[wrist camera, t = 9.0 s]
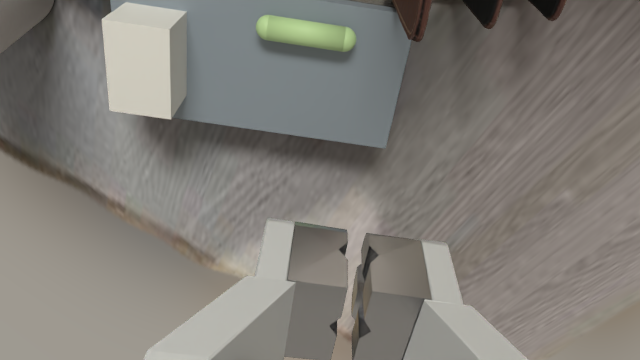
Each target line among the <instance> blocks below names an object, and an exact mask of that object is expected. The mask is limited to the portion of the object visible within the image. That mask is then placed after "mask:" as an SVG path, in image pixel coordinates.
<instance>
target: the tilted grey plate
mask: <svg viewBox="0 0 640 360" xmlns="http://www.w3.org/2000/svg"><path fill="white" fill-rule="evenodd" d="M110 1H111V13H110V14H108V15H107V16H106V17H104V18H103V19H102V28H103V39H104V51H105V62H106V74H107V85H108V97H109V108H110V111H115V112H122V113H129V114H136V115H143V116H150V117H157V118H163V119H170V120H171V119H172V118H177V119H184V120H191V121H198V122H205V123H212V124H219V125H226V126H233V127H240V128H246V129H253V130H260V131H267V132H274V133H281V134H288V135H295V136H302V137H309V138H316V139H323V140H330V141H336V142H343V143H350V144H357V145H364V146H371V147H378V148H385V149H386V144H387V140H388V136H389V132H390V128H391V124H392V120H393V115H394V111H395V107H396V103H397V99H398V95H399V90H400V86H401V82H402V78H403V74H404V70H405V66H406V61H407V57H408V53H409V49H410V45H411V41H412V40H409V39H408V38H407V35H406V33H405V31H404V28H403V26H402V24H401V22H400V19H399V17H398V14H397V11H396V8H393V7H387V6H380V5H374V4H367V3H361V2H355V1H348V0H110Z"/></svg>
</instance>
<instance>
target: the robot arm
mask: <svg viewBox="0 0 640 360" xmlns="http://www.w3.org/2000/svg"><path fill="white" fill-rule="evenodd" d="M293 231H294V232H293ZM347 243H348V233H347V230H345V229H338V228H332V227H326V226H320V225H314V224H307V223H301V222H295V226H294V222H293V221H287V220H280V219H274V218H268V219H267V221H266V225H265V229H264V234H263V239H262V243H261V248H260V253H259V257H258V262H257V267H256V271H255V276H245V277H244V278H243V279H241V280H240V281H239V282H237V283H236V284H235V285H233V286H232V287H231V288H229V289H228V290H227V291H225V292H224V293H223V294H222V295H220V296H219V297H217V299H215V300H214V301H212V302H211V303H209V304H208V305H207V306H206V307H204V308H203V309H202V310H200V311H199V312H198V313H197V314H195V315H194V316H192V317H191V318H190V319H188V320H187V321H186V322H184V323H183V324H182V325H180V326H179V327H178V328H176V329H175V330H174V331H172V332H171V333H170V334H169V335H167V336H166V337H164V338H163V339H162V340H161V341H159V342H158V343H157V344H155V345H154V346H153V347H151V348H150V349H149V350H147V353H146V355H145V358H144V360H283V359H284V357H293V358H303V359H313V360H331V357H332V353H333V349H334V345H335V340H336V336H337V320H338V319H339V318H341V315H342V311H343V306H344V302H345V297H346V293H347V288H348V260H347V259H346V257H345V253H346V248H347ZM361 254H362V264H361V265H359V266H358V267H357V270H356V275H355V279H354V285H353V292H352V317H353V318H354V319H355V324H354V328H353V332H352V360H528V359H527V358H526V357H525V356H524V355H523V354H522V353H521V352H520V351H519V350H518V349H516V348H515V347H514V346H513V345H512V344H511V343H510V342H509V341H508V340H507V339H506V338H505V337H504V336H503V335H502V334H501V333H500V332H499V331H498V330H497V329H495V328H494V327H493V326H492V325H491V324H490V323H489V322H488V321H487V320H486V319H485V318H484V317H483V316H482V315H481V314H480V313H479V312H478V311H477V310H476V309H474V308H473V307H472V306H469V305H464V303H463V300H462V296H461V292H460V288H459V285H458V281H457V277H456V274H455V270H454V266H453V262H452V259H451V255H450V251H449V247H448V245H447V244H446V243H445V242H440V241H431V240H422V239H419V240H415V239H407V238H400V237H392V236H385V235H378V234H370V233H366V235H365V238H364V241H363V245H362V249H361Z"/></svg>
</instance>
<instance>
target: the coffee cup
mask: <svg viewBox="0 0 640 360" xmlns="http://www.w3.org/2000/svg"><path fill="white" fill-rule="evenodd" d="M53 3H54V0H0V54H1V53H2V52H3V51H4V50H6V49H7V48H8V47H9V46H11V45H12V44H13V43H14V42H15V41H17V40H18V39H19V38H20V37H22V36H23V35H24V34H25V33H26V32H28V31H29V30H30V29H31V28H33V27H34V26H35V25H36V24H37V23H39V22H40V21H41V20H42V19H43V18H45V17H46V16H47V15H48V13H49V12H50V10H51V8H52V6H53Z"/></svg>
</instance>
